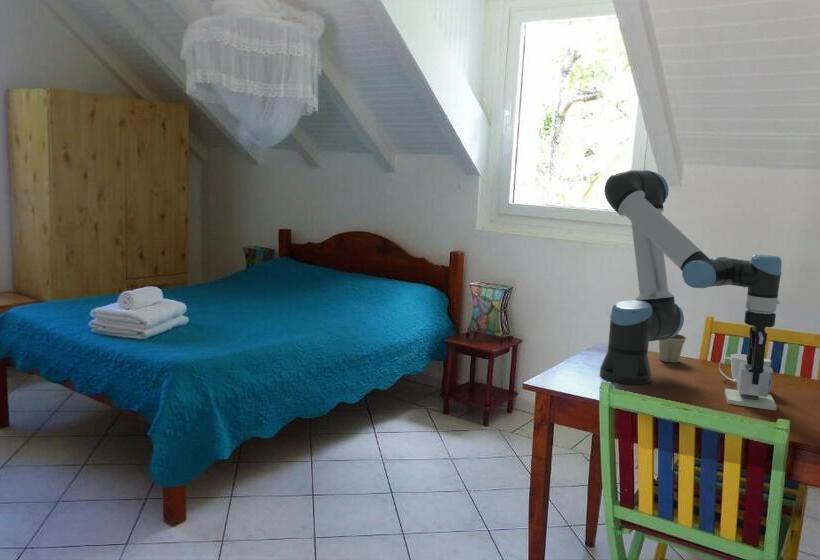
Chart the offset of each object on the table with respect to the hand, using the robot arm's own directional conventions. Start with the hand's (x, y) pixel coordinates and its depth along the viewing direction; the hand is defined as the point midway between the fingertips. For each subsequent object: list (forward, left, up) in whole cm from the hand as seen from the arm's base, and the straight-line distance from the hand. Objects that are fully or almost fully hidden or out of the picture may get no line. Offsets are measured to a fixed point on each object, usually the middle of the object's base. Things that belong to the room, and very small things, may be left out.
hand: (751, 390), depth 190 cm
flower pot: (-21, +36, -3) cm, 42 cm away
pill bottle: (+4, +12, -3) cm, 13 cm away
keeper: (0, 0, -3) cm, 3 cm away
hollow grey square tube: (0, 0, 0) cm, 0 cm away
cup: (-2, +20, -3) cm, 20 cm away
